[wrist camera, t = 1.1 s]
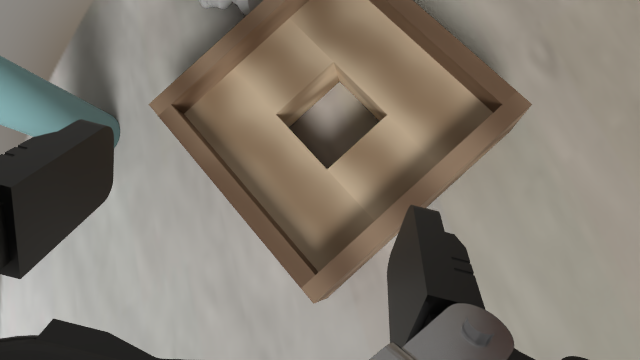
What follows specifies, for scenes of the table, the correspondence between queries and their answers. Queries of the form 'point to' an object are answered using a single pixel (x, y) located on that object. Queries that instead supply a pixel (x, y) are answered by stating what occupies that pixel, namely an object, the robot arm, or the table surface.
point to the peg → (42, 104)
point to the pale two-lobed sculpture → (245, 3)
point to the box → (362, 158)
